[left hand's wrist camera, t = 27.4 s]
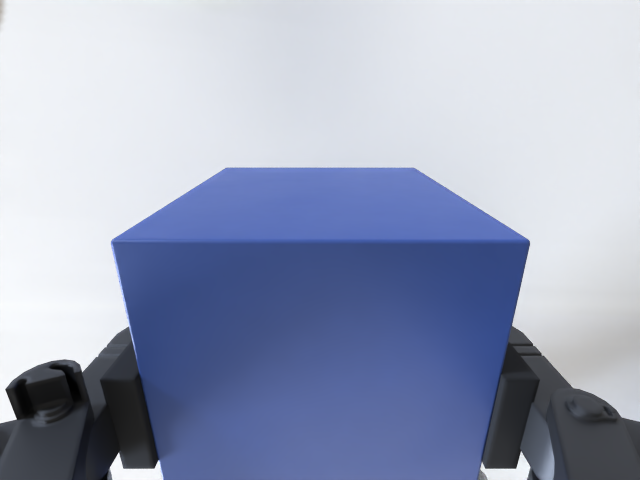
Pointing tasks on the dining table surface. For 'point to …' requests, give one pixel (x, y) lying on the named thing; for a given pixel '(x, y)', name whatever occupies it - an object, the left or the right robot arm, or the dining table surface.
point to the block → (320, 325)
